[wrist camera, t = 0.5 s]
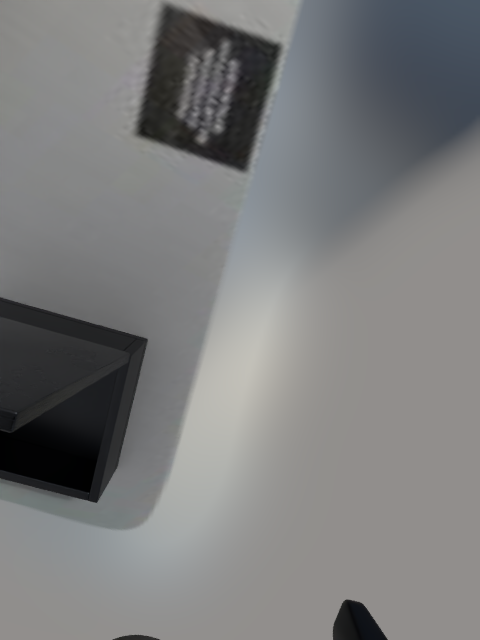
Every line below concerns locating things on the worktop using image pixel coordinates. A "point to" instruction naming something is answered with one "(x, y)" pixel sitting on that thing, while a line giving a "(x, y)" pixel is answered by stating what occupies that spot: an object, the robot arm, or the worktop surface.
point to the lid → (46, 370)
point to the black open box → (74, 417)
